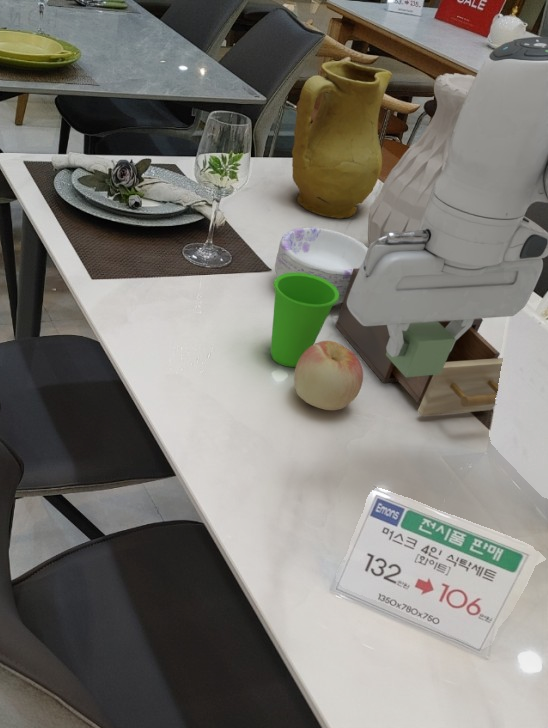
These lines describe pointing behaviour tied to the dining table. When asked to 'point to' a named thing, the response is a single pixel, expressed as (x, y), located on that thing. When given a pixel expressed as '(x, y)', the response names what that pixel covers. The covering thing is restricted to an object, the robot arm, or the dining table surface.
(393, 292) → the robot arm
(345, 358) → the apple
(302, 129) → the pitcher
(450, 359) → the drawer
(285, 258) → the paper bowls
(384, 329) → the cabinet
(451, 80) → the vase
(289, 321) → the cup
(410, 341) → the block
